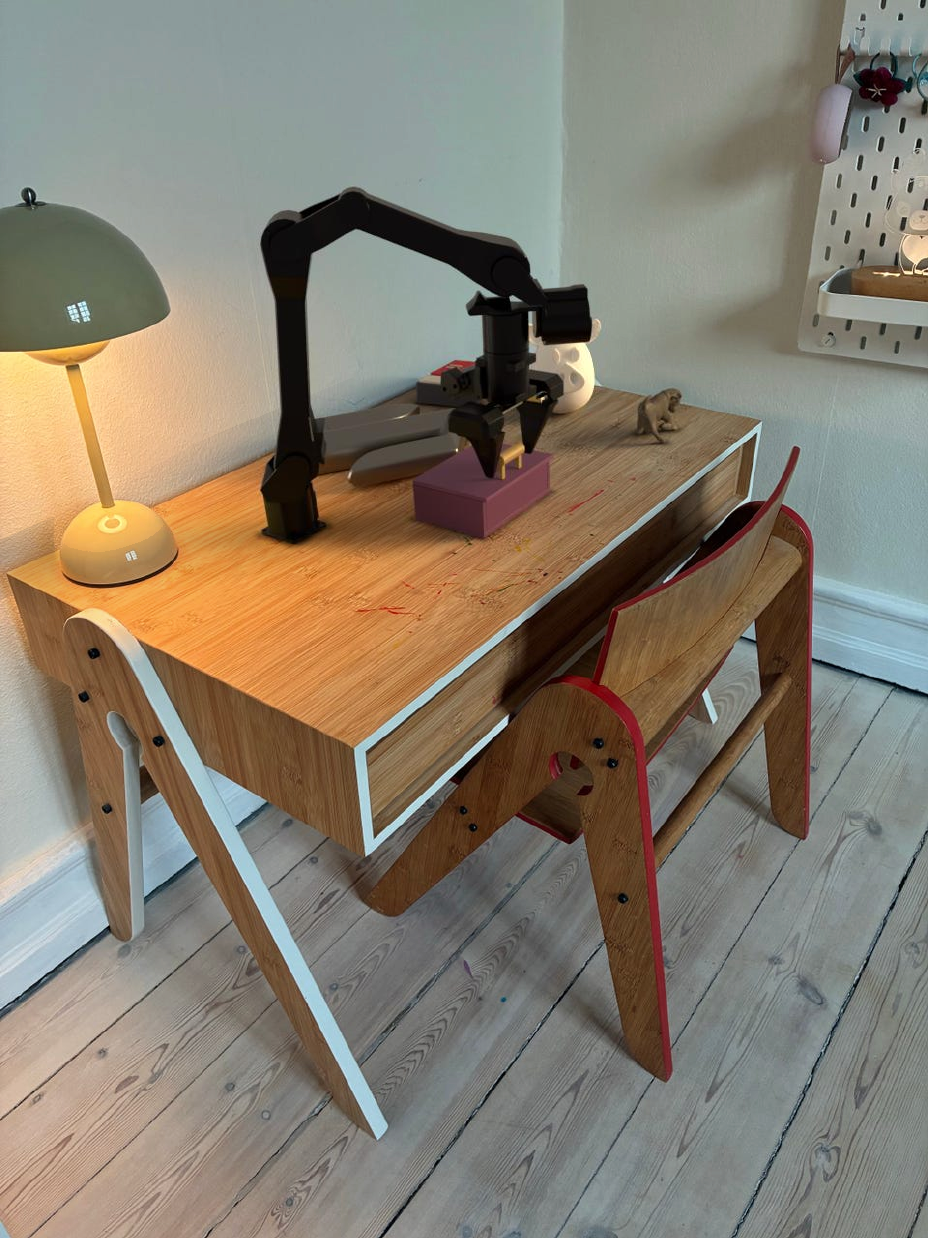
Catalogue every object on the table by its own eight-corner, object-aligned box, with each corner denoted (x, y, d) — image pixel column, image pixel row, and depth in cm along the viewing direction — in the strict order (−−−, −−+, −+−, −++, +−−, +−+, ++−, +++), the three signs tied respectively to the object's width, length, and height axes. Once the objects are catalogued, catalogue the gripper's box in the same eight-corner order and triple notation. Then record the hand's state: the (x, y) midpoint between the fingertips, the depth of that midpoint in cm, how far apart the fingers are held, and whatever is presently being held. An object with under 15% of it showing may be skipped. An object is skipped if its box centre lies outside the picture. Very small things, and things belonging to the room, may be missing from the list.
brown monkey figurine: (659, 447, 148) (662, 400, 144) (625, 441, 151) (627, 395, 147) (691, 422, 156) (694, 377, 152) (658, 416, 159) (661, 372, 155)
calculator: (507, 362, 176) (471, 384, 164) (507, 386, 178) (472, 409, 166) (453, 357, 180) (414, 378, 169) (454, 380, 182) (416, 402, 171)
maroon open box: (550, 492, 137) (549, 457, 134) (484, 538, 125) (482, 502, 123) (483, 476, 142) (482, 443, 140) (415, 519, 131) (412, 484, 129)
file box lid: (553, 458, 133) (553, 430, 131) (486, 502, 122) (485, 473, 120) (482, 442, 140) (481, 416, 138) (412, 483, 129) (409, 455, 126)
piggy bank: (545, 429, 157) (545, 336, 149) (516, 407, 166) (514, 319, 159) (613, 415, 161) (616, 324, 153) (581, 395, 170) (582, 308, 162)
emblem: (376, 381, 166) (510, 408, 151) (379, 411, 168) (510, 440, 153) (254, 434, 147) (392, 471, 132) (260, 467, 150) (396, 506, 135)
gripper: (494, 321, 130) (498, 431, 138) (408, 359, 118) (418, 478, 126) (566, 331, 124) (565, 445, 133) (483, 372, 112) (488, 496, 120)
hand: (509, 465), depth 128 cm, fingers open, 9 cm apart
